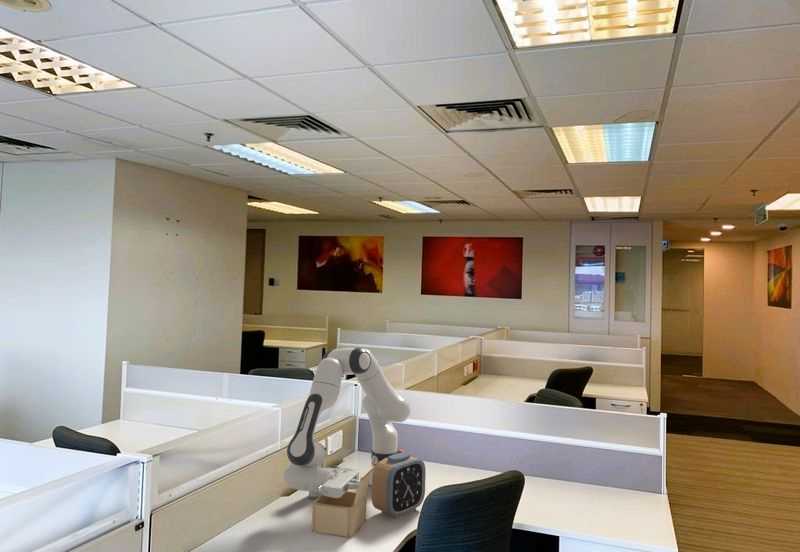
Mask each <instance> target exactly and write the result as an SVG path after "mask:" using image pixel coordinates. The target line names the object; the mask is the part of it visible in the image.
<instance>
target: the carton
mask: <svg viewBox="0 0 800 552" xmlns="http://www.w3.org/2000/svg"><path fill="white" fill-rule="evenodd" d="M356 493H357V491H353V490H348V491H347V492H346V493H344V494H343V495H342V496H341V497H340V498H332V497H327V496H324V495H322V494H321V495H320V496H319V497H318V498H317V499H314V501H312V510H311V512H312V515H311V516H312V519H311V532H313V533H318V534H319V533H320V534H326V535H332V536H333V535H334V536H338V537H345V538H350V539H352V538H353V537H354V536H355V534H356V533H357V532H358V531H359V530H360V529H361V527H362V526H363V525H364V524H365V522H366V521H367V502H368V501H367V498H368V497H367V495H368V493H366V494H365V495H364V496H363V497H362V498H361V499H360V500H359V501H358V502H357V503H356V505H354V501H355V497H356Z"/></svg>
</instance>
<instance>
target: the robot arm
mask: <svg viewBox="0 0 800 552" xmlns="http://www.w3.org/2000/svg"><path fill="white" fill-rule="evenodd" d="M348 375H349V376H350V375H355V377H356V379H357V380H358V381H357V382H358V383H359V385H360V386H361V388H362V389H361V390H363V393H365V396H364V397H363V399H362V408H363V410H364V412H365V413H366V414H367V417H368V419H369V423H370V426H371V431H372V432H371V434H372V449H371V453H370V454H371V456H370V459H371V464H370V468H371V467H373V470H374V468H375V466H376V464H377V463H378V462H380V461H381V460H383V459H386V458H388V457H389V456H391V455H394V454H397V453H402V452H405V451H404V450H402V449H400V450H399V449H398V441H399V439H398V438H399V435H398V434H399V433H398V432H397V429H396V428H395V426H394V425H393V423H403V422H406V420H408V418H409V416H410V413H411V404H410V403H409V402H408V401H407V400H406V399H405V398H403V397H402V396H401V395H400V394H399V393H398V391H396V389H395V388H394V387H393V385H392V384H391V383H390V382H389V381H388V379H387V378H386V376H385V373H384V371H383V370H382V368H381V366H380V363H379V362H378V361H377V359H376V357H375V356H374V354H373V353H372V352H371V350H369V349H368V348H361V347H344V348H343V347H342V348H333V349H330V350H327V351H326V352H325V353H324V354H323V356H322V359H321V360H320V362H319V363H318V365H317V368H316V370H315V373H314V375H313V379H312V384H311V387H310V391H309V393H308V397H307V399H306V401H305V404H304V406H303V409H302V412H301V416H300V419H299V422H298V425H297V428H296V431H295V433H294V435H293V437H292V438H291V439H290V441H289V443H288V445H287V448H286V454H287V459H288V460H289V462H290V464H288V465H287V466H285V470H284V475H283V478H284V482H285V484H286V486H287V487H289V488H291V489H292V490H297V491H303V492H309V491H314V492H316V493H322V495H324V496H327V497H332V498H340V497H341V496H342V495H343V494H344V493H346V492H347V491H353V490H358V486H359V482H360V479H359V478H360V471H359V470H357V469H354V468H348V467H340V465H333V466H330V467H325V468H322V465H323V462H324V459H325V460H326V450H325V448H326V447H325V446H324V445H323V444H322V443H321V442H318V441H316V440H314V434H315V429H316V428H317V424H318V420H319V418H320V415H321V414H322V413H323V412H324V411H325V410H328V409H330V408H332V407H333V406H335V404H336V402H337V400H338V398H339V394H340V391H341V390H340V389H341V386H342V385H341V384H342V380H343V379H342V378H343V376H348ZM372 475H373V471H372V474H371V478H370V482H369V485H370V486H372Z"/></svg>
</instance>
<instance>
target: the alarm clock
mask: <svg viewBox="0 0 800 552" xmlns="http://www.w3.org/2000/svg"><path fill="white" fill-rule="evenodd" d="M426 474H427V473H426V465H425V462H424V461H423V460H421V459H420V458H416V457H414V456H413V457H412V456H411V453H408V452H405V451H404V452H402V453H397V454H394V455H391V456H389V457H388V458H386V459H383V460H381V461H380V462H378V463H377V464H376V466H375V468H374V470H373V475H372V485H371V502H372V506H373V507H374V509H377V510H378V511H381V514H383V515H385V516H387V515H388V516H387V517H389V516H390V517H389V518H392V519H394V518H395V519H394V520H396V518H397V519H400V518H402V517H404V516H406V515H409V514H411V513H413V512H416V511H417V508H418V507H420V506H421V505H422V503H423V501H424V498H425V494H426ZM401 516H402V517H401ZM399 517H400V518H399Z"/></svg>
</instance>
